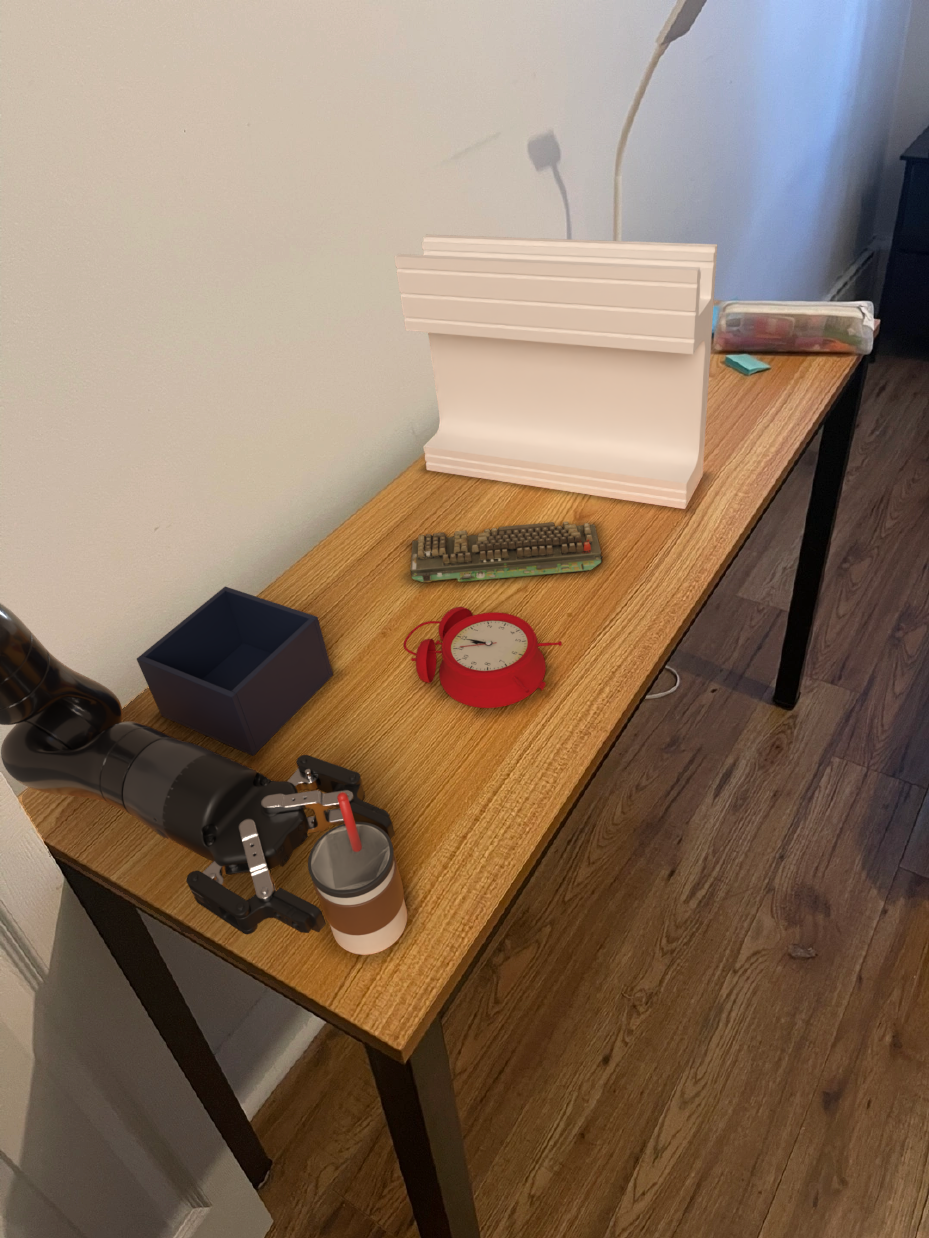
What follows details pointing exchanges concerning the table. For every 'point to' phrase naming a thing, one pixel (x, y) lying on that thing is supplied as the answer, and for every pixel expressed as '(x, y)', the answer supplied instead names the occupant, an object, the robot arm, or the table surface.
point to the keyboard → (506, 553)
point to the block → (567, 361)
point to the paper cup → (358, 884)
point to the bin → (237, 668)
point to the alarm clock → (483, 658)
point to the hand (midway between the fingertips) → (357, 874)
